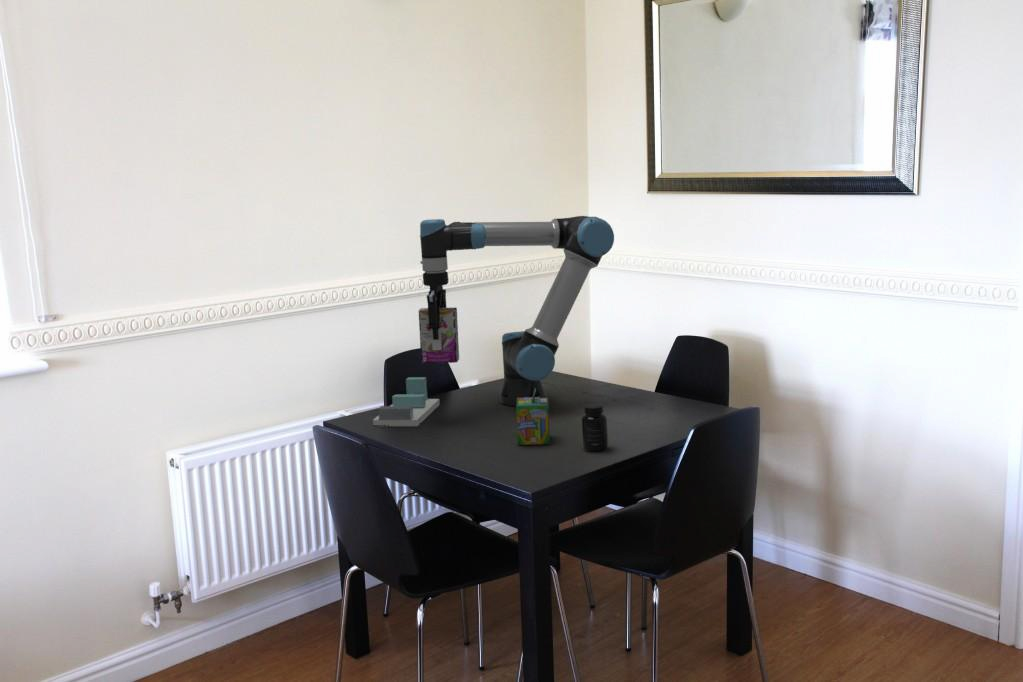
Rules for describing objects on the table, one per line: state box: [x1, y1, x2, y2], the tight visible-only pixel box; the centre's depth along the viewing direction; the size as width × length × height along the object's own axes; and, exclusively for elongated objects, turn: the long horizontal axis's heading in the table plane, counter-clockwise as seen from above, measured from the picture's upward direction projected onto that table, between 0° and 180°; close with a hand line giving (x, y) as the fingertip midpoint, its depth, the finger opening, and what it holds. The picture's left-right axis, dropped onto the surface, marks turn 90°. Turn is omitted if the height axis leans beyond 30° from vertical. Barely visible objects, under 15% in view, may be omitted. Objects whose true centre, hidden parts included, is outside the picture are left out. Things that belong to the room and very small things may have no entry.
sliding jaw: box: [391, 376, 428, 407], centre depth 301 cm, size 12×10×7 cm
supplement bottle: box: [581, 403, 609, 453], centre depth 250 cm, size 7×7×12 cm
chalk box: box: [515, 388, 551, 446], centre depth 260 cm, size 9×9×15 cm
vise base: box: [372, 398, 441, 427], centre depth 295 cm, size 26×14×6 cm, turn 169°
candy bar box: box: [418, 307, 460, 364], centre depth 282 cm, size 11×5×16 cm, turn 84°
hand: (439, 347), depth 282 cm, fingers closed on candy bar box, 5 cm apart
